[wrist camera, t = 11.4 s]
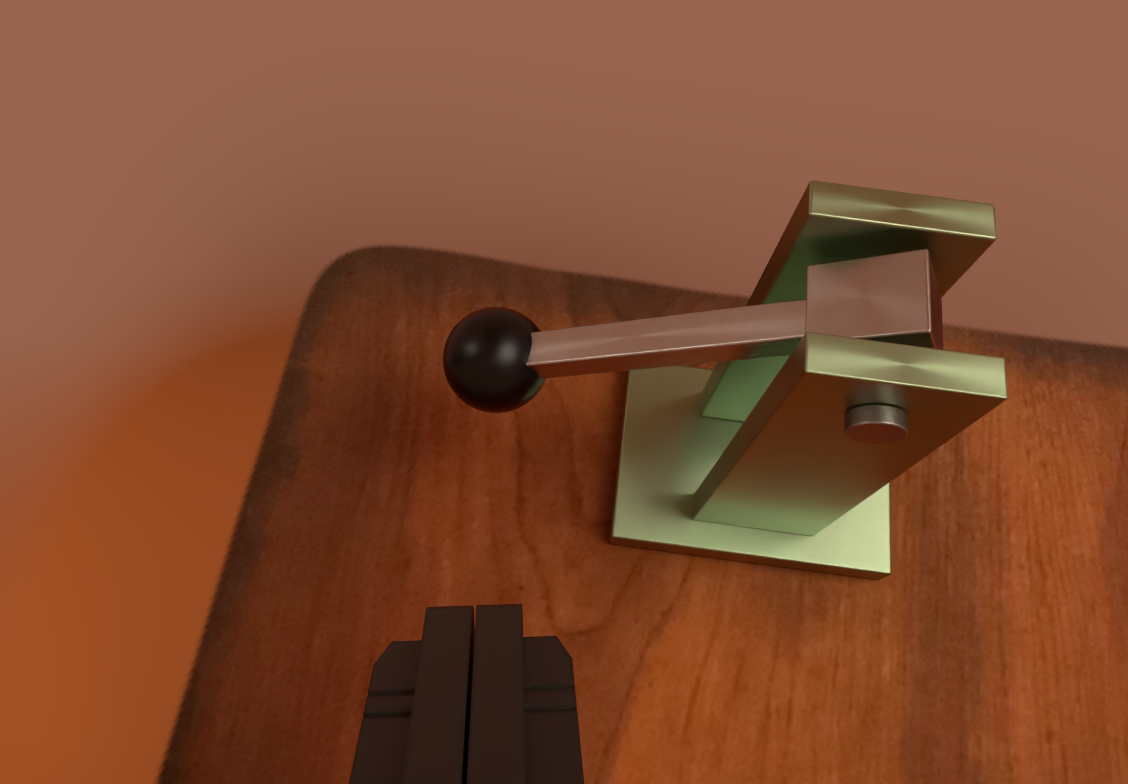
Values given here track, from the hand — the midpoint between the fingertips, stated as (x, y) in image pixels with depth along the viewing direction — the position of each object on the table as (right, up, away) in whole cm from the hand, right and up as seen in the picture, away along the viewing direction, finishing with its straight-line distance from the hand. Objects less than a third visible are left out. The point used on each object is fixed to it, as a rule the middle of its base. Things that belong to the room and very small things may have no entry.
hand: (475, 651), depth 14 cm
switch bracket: (+8, +1, +20) cm, 21 cm away
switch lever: (+5, +5, +12) cm, 13 cm away
